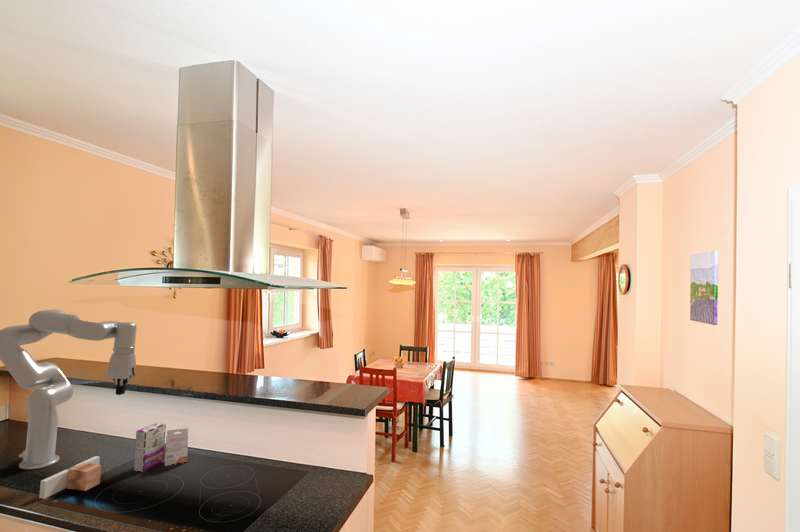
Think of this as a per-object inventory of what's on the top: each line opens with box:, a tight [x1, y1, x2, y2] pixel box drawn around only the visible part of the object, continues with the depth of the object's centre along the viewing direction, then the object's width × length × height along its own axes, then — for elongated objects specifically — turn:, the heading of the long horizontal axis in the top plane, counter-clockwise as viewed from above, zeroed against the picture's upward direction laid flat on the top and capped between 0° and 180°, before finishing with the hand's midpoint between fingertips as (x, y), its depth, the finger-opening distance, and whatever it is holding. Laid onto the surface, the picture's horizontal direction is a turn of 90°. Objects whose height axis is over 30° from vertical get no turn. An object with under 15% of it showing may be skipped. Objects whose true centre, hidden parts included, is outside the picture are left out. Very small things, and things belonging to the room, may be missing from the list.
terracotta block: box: [66, 462, 102, 492], centre depth 153 cm, size 8×6×7 cm
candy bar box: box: [133, 422, 167, 473], centre depth 171 cm, size 11×5×16 cm, turn 168°
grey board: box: [38, 455, 101, 500], centre depth 154 cm, size 2×22×6 cm, turn 172°
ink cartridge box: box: [164, 427, 189, 467], centre depth 176 cm, size 9×5×15 cm, turn 117°
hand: (120, 394), depth 174 cm, fingers closed
